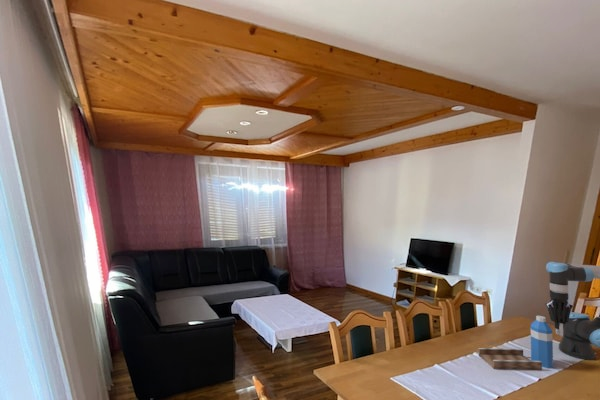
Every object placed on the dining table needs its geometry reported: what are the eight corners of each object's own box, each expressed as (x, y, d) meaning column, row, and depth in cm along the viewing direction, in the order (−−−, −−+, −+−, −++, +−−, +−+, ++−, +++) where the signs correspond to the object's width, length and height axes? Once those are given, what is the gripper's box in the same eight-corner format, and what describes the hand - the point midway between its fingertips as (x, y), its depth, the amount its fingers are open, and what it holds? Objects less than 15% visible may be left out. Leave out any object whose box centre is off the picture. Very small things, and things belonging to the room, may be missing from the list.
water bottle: (557, 369, 145) (556, 321, 146) (537, 367, 147) (536, 319, 148) (545, 359, 154) (545, 314, 155) (526, 357, 156) (526, 313, 157)
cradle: (522, 356, 158) (522, 349, 158) (541, 370, 144) (541, 361, 145) (478, 355, 158) (478, 348, 158) (494, 369, 145) (494, 360, 145)
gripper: (564, 289, 156) (565, 332, 155) (540, 289, 156) (541, 331, 155) (577, 293, 148) (578, 338, 147) (552, 293, 148) (553, 337, 148)
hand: (559, 334), depth 151 cm, fingers closed
